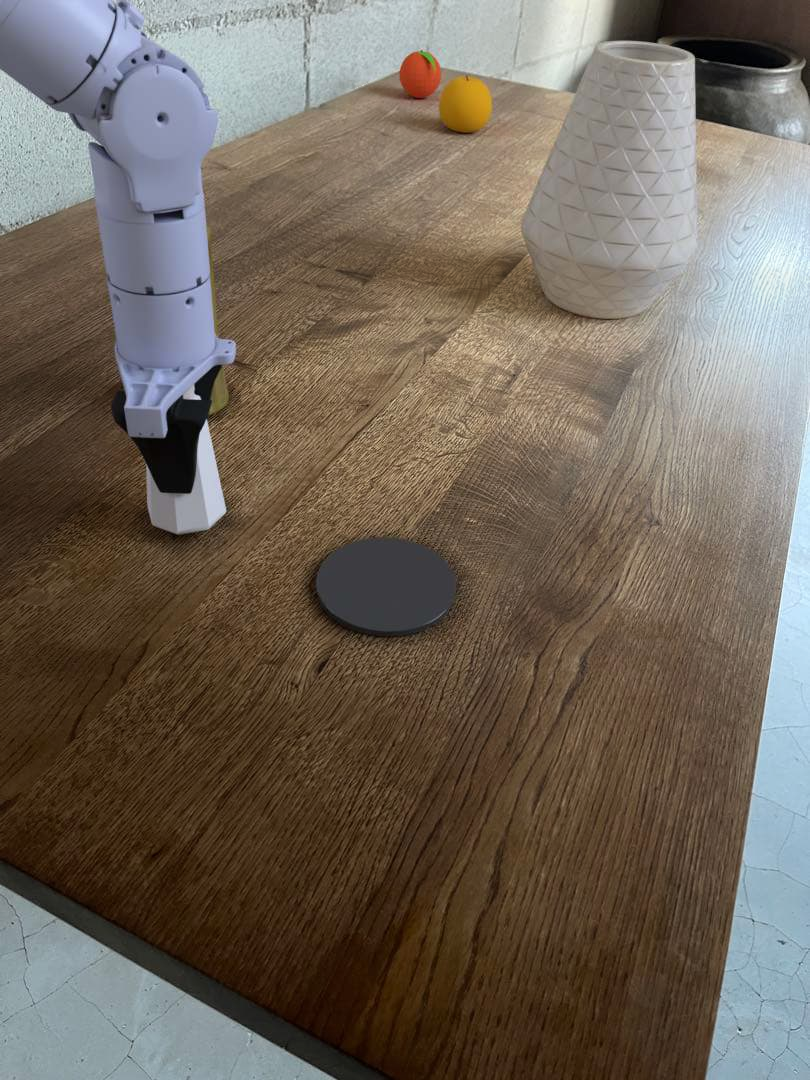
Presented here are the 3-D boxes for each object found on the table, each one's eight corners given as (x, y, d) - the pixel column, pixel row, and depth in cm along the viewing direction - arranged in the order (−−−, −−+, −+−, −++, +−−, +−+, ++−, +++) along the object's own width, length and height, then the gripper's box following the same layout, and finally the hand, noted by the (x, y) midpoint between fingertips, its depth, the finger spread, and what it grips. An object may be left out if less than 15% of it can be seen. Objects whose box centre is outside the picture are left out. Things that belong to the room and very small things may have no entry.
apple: (463, 140, 136) (468, 85, 131) (426, 127, 140) (430, 73, 135) (499, 132, 140) (506, 78, 135) (463, 119, 144) (468, 67, 140)
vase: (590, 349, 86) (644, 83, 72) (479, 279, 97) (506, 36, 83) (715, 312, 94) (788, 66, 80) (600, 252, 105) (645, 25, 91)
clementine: (451, 102, 152) (455, 55, 147) (415, 106, 149) (418, 58, 144) (424, 90, 157) (428, 44, 153) (390, 94, 154) (392, 46, 150)
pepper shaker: (157, 485, 65) (137, 344, 58) (234, 490, 65) (223, 350, 58) (137, 533, 61) (112, 387, 54) (218, 538, 61) (205, 393, 54)
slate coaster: (311, 634, 56) (311, 629, 55) (319, 540, 63) (319, 534, 62) (459, 638, 56) (460, 633, 56) (451, 544, 63) (452, 539, 63)
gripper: (211, 336, 47) (228, 542, 55) (245, 230, 58) (255, 414, 67) (70, 330, 46) (109, 538, 55) (131, 224, 58) (156, 410, 66)
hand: (182, 470), depth 61 cm, fingers closed on pepper shaker, 4 cm apart
